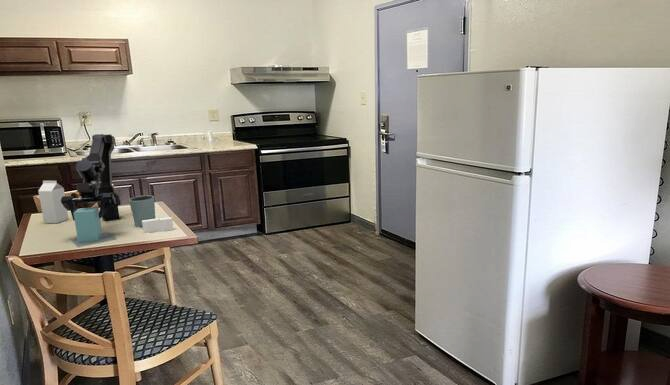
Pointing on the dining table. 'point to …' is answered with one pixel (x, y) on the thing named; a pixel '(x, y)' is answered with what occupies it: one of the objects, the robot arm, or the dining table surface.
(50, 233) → the dining table surface
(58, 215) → the milk carton
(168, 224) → the napkin holder
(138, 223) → the teal tapered cup
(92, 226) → the teal rectangular block
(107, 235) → the slate mat
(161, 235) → the dining table surface
